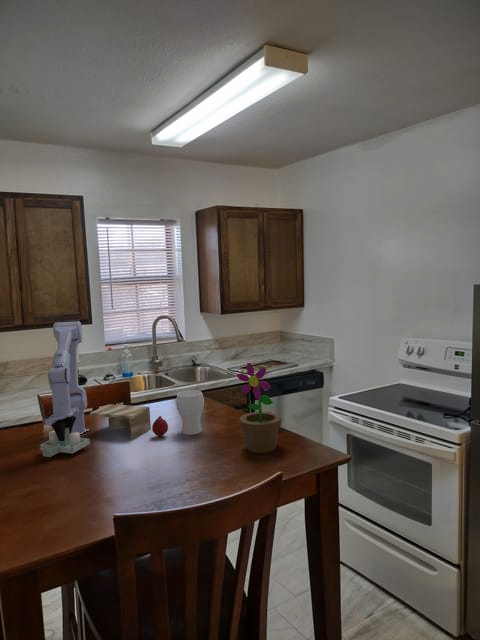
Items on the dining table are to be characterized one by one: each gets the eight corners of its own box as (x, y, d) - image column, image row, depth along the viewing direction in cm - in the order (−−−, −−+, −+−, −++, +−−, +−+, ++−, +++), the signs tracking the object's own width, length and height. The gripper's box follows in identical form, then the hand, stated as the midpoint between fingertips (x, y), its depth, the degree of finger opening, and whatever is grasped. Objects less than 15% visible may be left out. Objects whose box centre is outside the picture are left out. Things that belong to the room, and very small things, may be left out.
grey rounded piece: (48, 445, 160) (46, 433, 160) (54, 442, 164) (52, 429, 163) (56, 445, 160) (54, 433, 159) (62, 442, 163) (61, 430, 163)
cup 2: (204, 435, 170) (202, 396, 168) (175, 436, 170) (173, 397, 169) (206, 426, 180) (204, 389, 179) (180, 427, 180) (177, 390, 179)
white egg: (68, 447, 158) (66, 434, 157) (75, 443, 161) (74, 431, 160) (75, 448, 156) (74, 435, 156) (82, 444, 159) (81, 432, 159)
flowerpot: (233, 451, 153) (229, 363, 150) (252, 437, 166) (248, 356, 163) (272, 457, 146) (268, 365, 143) (288, 442, 159) (285, 357, 156)
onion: (160, 440, 167) (158, 419, 166) (149, 437, 170) (148, 417, 169) (171, 435, 171) (170, 415, 171) (161, 433, 175) (159, 413, 174)
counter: (91, 435, 176) (89, 413, 175) (110, 425, 187) (109, 404, 186) (133, 439, 169) (132, 416, 168) (150, 429, 180) (149, 406, 179)
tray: (30, 454, 154) (28, 435, 154) (58, 440, 167) (57, 423, 166) (63, 458, 149) (61, 439, 149) (90, 443, 162) (88, 425, 161)
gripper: (55, 407, 150) (58, 447, 152) (84, 396, 164) (87, 432, 165) (38, 406, 153) (42, 445, 154) (68, 395, 166) (71, 431, 168)
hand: (64, 439), depth 160 cm, fingers closed on tray, 2 cm apart
